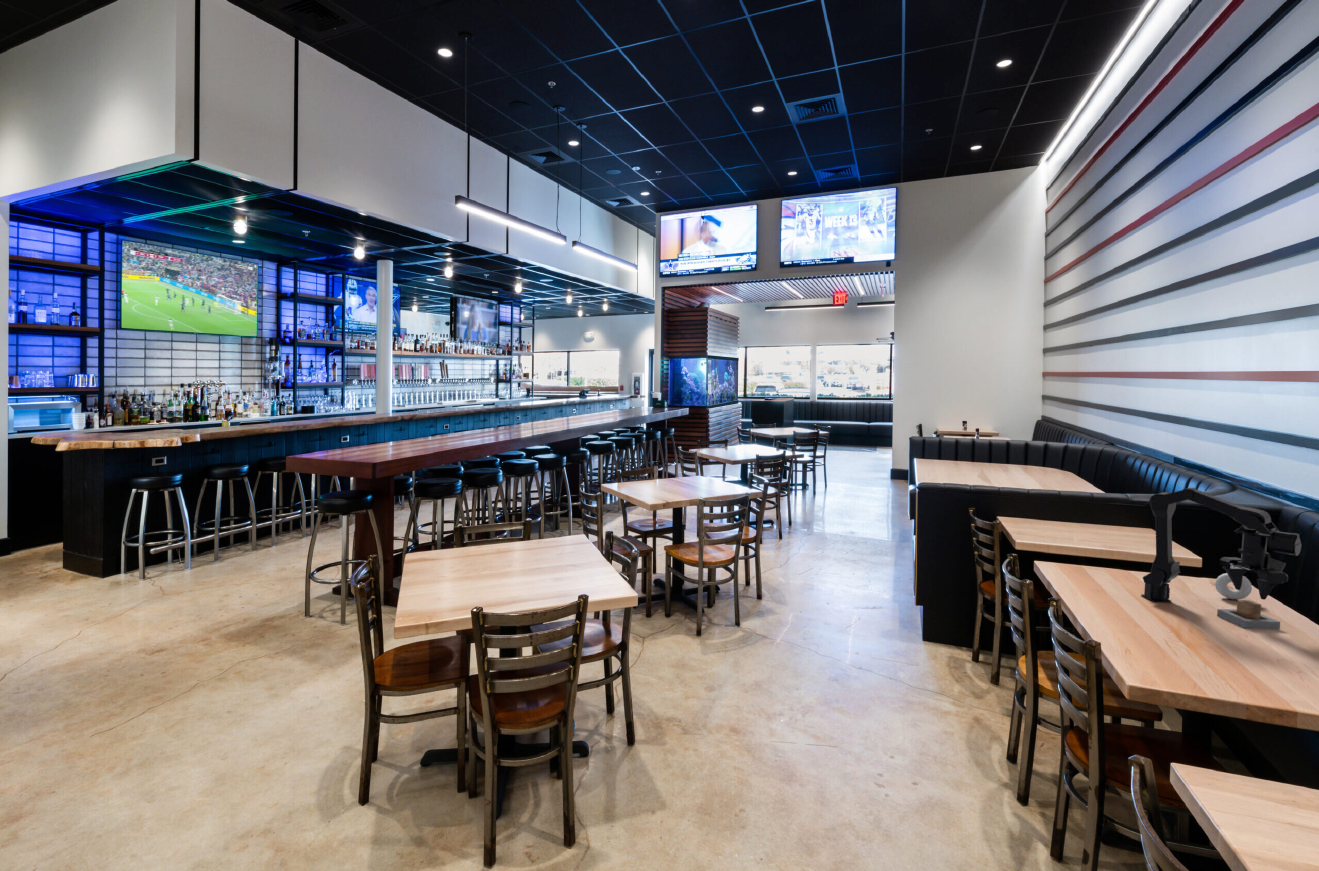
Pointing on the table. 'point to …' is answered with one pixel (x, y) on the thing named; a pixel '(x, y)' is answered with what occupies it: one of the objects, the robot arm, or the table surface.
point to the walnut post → (1248, 609)
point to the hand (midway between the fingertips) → (1250, 594)
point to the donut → (1232, 594)
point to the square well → (1248, 620)
